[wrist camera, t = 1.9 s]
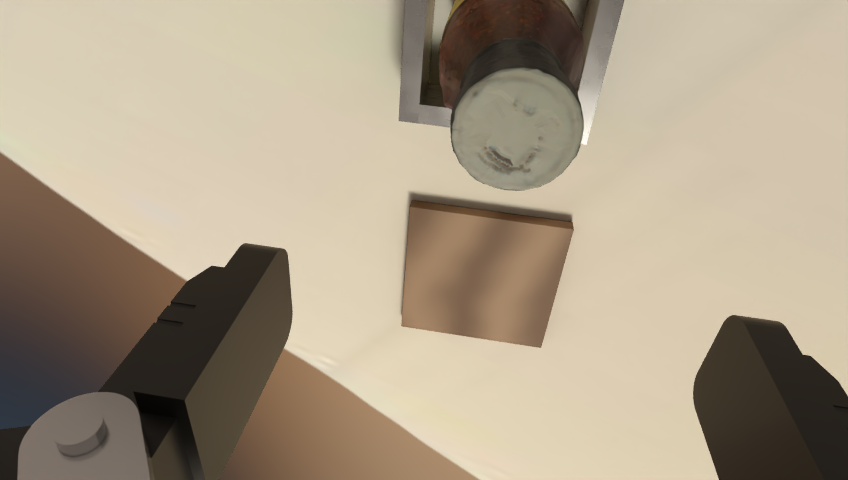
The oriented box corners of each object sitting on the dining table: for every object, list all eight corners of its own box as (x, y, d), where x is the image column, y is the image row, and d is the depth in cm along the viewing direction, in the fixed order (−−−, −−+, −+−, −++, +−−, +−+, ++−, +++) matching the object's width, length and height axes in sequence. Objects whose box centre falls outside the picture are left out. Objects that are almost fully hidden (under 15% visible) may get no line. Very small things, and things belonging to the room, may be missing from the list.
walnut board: (572, 222, 40) (573, 229, 39) (540, 339, 47) (540, 347, 46) (412, 200, 41) (409, 206, 40) (403, 318, 48) (401, 326, 47)
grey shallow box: (635, -102, 29) (650, -99, 26) (579, 119, 36) (586, 144, 33) (423, -122, 30) (411, -121, 27) (409, 98, 37) (398, 120, 34)
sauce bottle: (482, 80, 35) (454, 257, 19) (436, -12, 33) (357, 101, 16) (580, 32, 33) (643, 186, 17) (539, -72, 30) (566, -10, 14)
